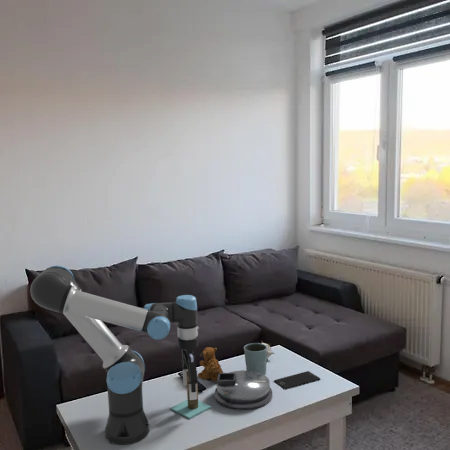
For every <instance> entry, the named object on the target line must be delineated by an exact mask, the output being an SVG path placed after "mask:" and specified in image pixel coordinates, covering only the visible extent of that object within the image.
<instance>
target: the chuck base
mask: <svg viewBox="0 0 450 450" xmlns="http://www.w3.org/2000/svg"><path fill="white" fill-rule="evenodd" d="M272 399H273V390H272V388H271V387H270V393H269V395H268V397H267V398H265V399H264V400H262V401H260V402H256V403H252V404H234V403H230V402H227V401H224V400H222V399H221V398H220V397H219V396H218V394H217V387H216V388H215V390H214V400H215V401H216V402H217V404H219V405H220V406H222V407H224V408H227V409H231V410H235V411H238V410H239V411H248V410H249V411H251V410H256V409H259V408H262V407H265V406H266V405H268V404H269V403H270V402H271V400H272Z"/></svg>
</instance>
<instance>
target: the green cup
mask: <svg viewBox="0 0 450 450" xmlns="http://www.w3.org/2000/svg"><path fill="white" fill-rule="evenodd" d="M261 343H262V342H261ZM261 343H260V342H252V343H251V342H250V343H248V344H246V345H244V346H243V351H244V352H243V353H244V359H245V361H244V362H245V366H246V368H245V369H246V370H245V371H254V372H258V373H261V374H263V375H265V376H266V374H267V363H268V362H267V361H268V359H267V357H266V355H267V346H266V345H264V344H261Z"/></svg>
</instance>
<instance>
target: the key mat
mask: <svg viewBox="0 0 450 450" xmlns="http://www.w3.org/2000/svg"><path fill="white" fill-rule="evenodd" d="M169 408H170V409H169V410H171V411H174V412H175V413H177V414H179V415H181V416H182V417H184V418H187V419H188V420H190V419H193V418H194V417H197V416H198V415H201V414H202V413H204V412H206V411H208V410H210V409H212V406H211V405H209V404H207V403H204V402H203V401H201V400H199V399H198V408H197V409H189V408H188V398H187V399H185V400H183V401H181V402H180V403H177V404H175V405H173V406H171V407H169Z"/></svg>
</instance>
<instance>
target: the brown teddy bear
mask: <svg viewBox="0 0 450 450" xmlns="http://www.w3.org/2000/svg"><path fill="white" fill-rule="evenodd" d="M216 351H217V347H214V348H213V347H209V346H207V347H205V348H204V349H203V350H202V352H201V353H200V355H199V356H203V359H204V360H200V361H199V366H200V367H203V368H204V369H203V370H201V372H198V373H197V377H198V378H200V379H202V380H206V381H210V380H211V381H212V382H215V383H217V378H218V374H219V373H224V371H223V369H222V366H221V364H220V361H219V360H218V359H216V354H215V353H216Z"/></svg>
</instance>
